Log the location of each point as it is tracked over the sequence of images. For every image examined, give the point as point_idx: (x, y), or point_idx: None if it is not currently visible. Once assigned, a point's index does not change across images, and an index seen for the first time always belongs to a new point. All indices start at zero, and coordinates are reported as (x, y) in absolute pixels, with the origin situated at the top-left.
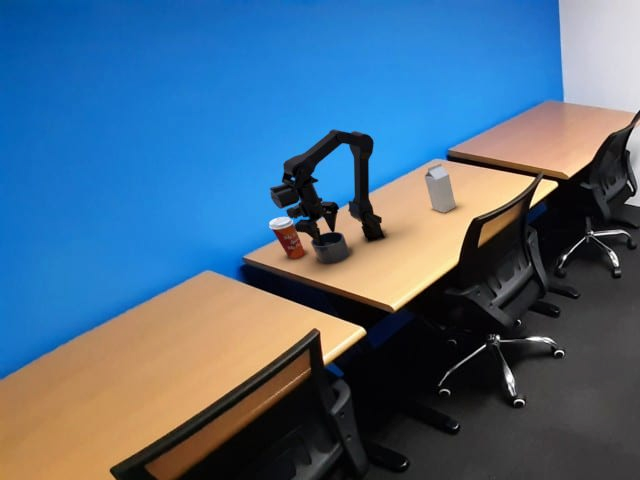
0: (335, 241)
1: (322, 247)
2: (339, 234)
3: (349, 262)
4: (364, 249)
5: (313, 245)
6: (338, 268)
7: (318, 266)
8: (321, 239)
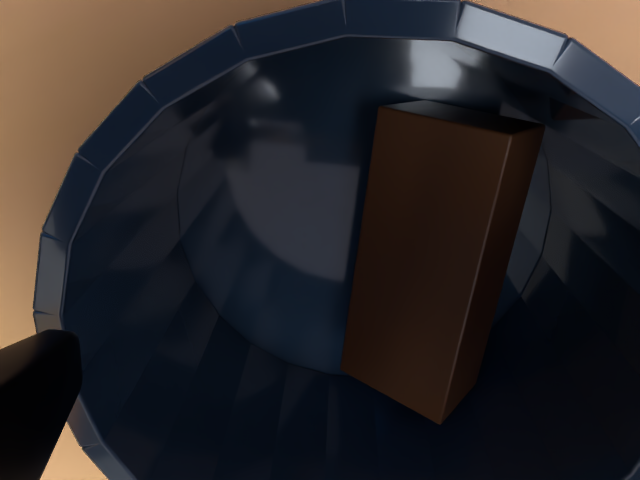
0: (593, 247)
1: None
2: (599, 468)
3: None
4: None
5: (65, 177)
6: None
7: (86, 110)
8: (555, 95)
